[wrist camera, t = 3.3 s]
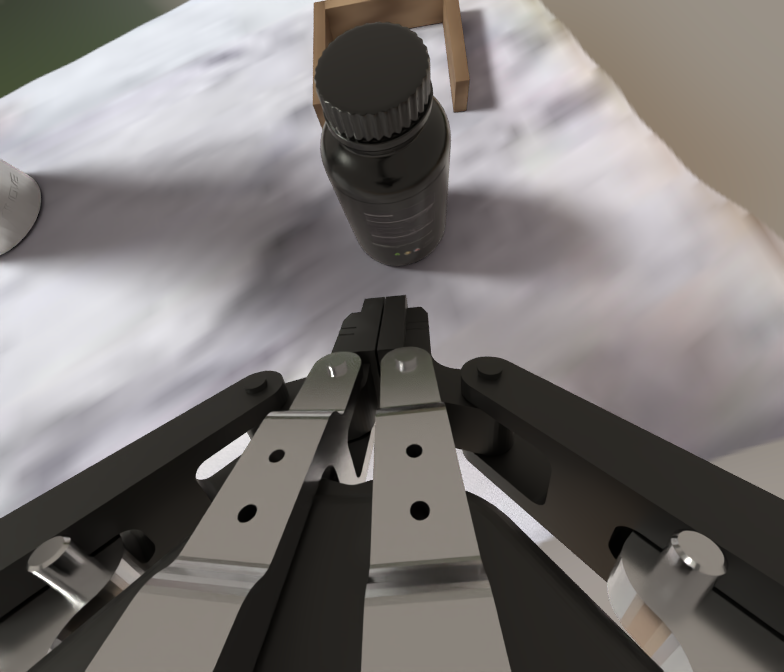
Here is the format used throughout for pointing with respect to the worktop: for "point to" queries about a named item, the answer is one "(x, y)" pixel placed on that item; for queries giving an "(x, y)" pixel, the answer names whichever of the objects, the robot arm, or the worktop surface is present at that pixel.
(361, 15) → the walnut frame
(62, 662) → the robot arm
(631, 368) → the worktop surface
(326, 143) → the supplement bottle
